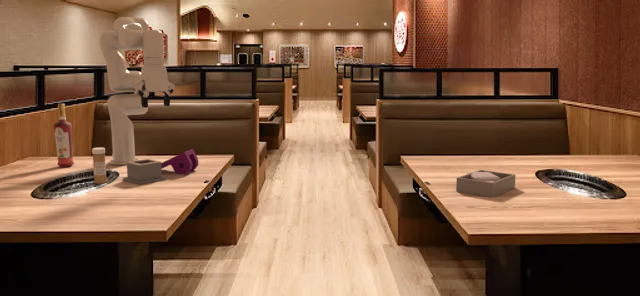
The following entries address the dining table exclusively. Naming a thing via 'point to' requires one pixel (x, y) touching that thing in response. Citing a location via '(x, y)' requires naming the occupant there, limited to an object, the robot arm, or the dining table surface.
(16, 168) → the dining table surface
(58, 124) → the liquor
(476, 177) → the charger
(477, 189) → the stand
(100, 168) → the sprinkles bottle
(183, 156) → the mounting bracket
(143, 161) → the well
